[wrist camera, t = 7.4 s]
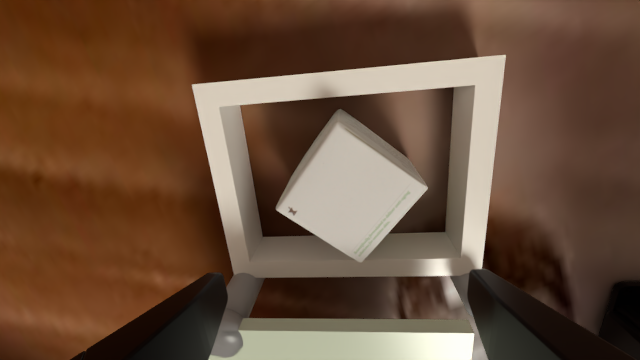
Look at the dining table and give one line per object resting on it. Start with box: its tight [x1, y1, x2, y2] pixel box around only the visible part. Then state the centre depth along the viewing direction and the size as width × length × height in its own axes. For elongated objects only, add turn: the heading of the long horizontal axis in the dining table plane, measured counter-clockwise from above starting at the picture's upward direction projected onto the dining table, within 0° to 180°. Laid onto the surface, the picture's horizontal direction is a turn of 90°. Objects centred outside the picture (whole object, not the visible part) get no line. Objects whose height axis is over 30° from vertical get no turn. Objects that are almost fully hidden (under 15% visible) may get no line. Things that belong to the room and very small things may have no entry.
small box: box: [276, 109, 428, 262], centre depth 17 cm, size 6×6×5 cm
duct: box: [192, 55, 506, 318], centre depth 16 cm, size 16×14×6 cm
